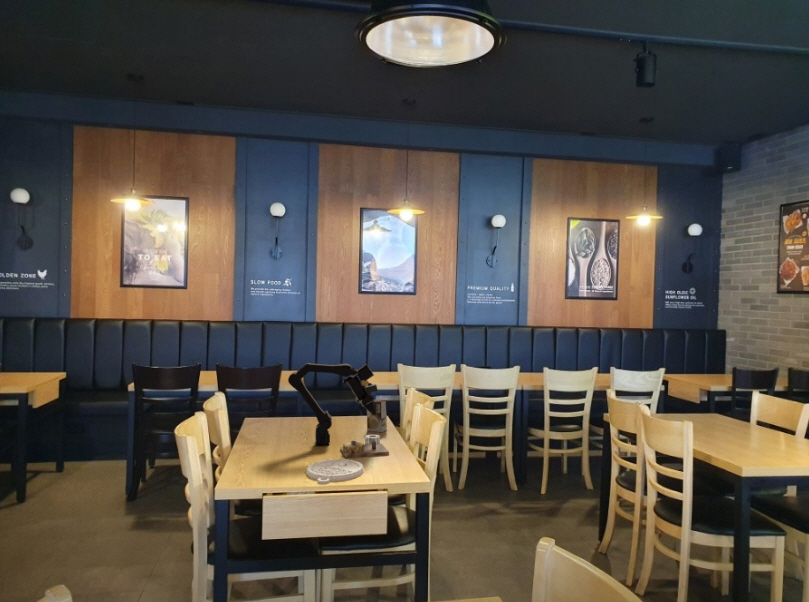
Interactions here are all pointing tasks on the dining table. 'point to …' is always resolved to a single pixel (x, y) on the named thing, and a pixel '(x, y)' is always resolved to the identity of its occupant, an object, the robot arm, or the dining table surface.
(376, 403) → the coffee box
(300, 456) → the dining table surface
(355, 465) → the medallion
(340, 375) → the robot arm
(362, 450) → the gear board
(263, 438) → the dining table surface
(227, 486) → the dining table surface
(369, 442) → the steel gear
